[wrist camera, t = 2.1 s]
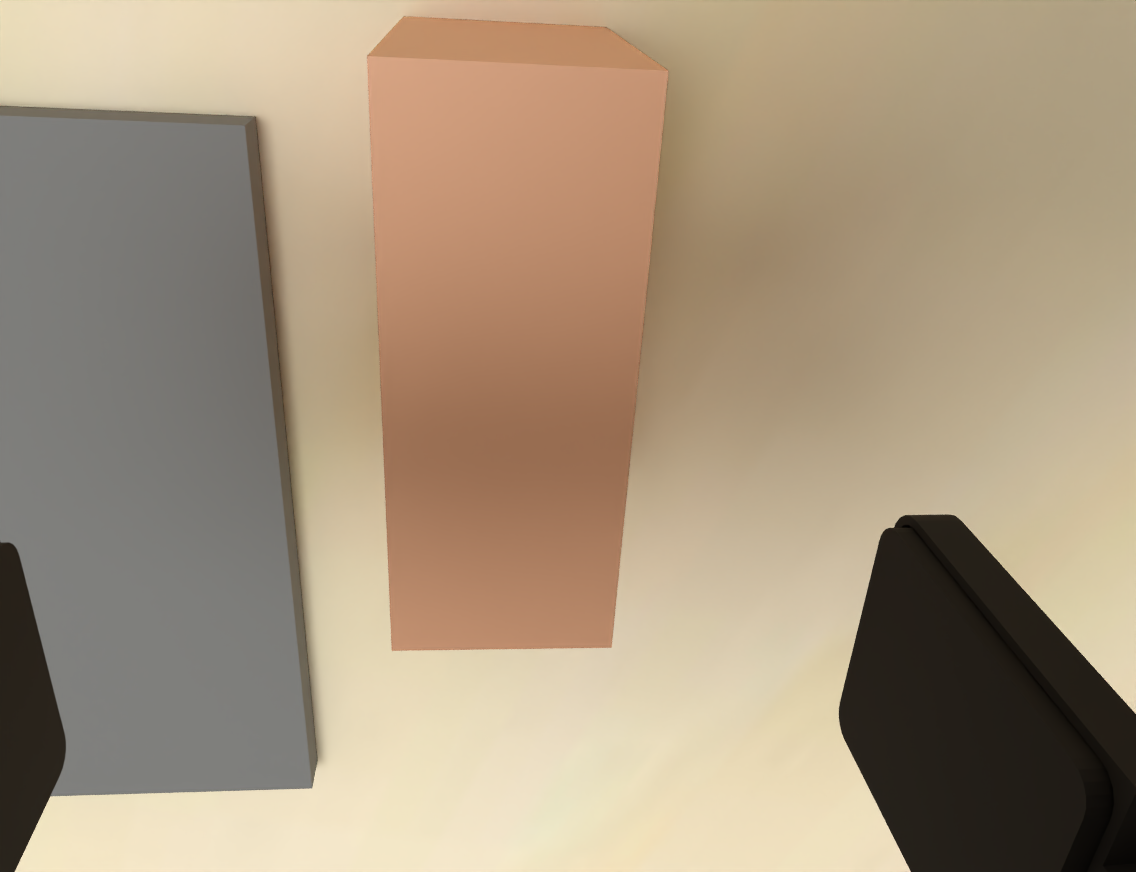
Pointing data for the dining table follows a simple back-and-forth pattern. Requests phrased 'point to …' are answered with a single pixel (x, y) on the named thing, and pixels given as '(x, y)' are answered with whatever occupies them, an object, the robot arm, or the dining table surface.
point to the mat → (151, 450)
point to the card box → (509, 322)
